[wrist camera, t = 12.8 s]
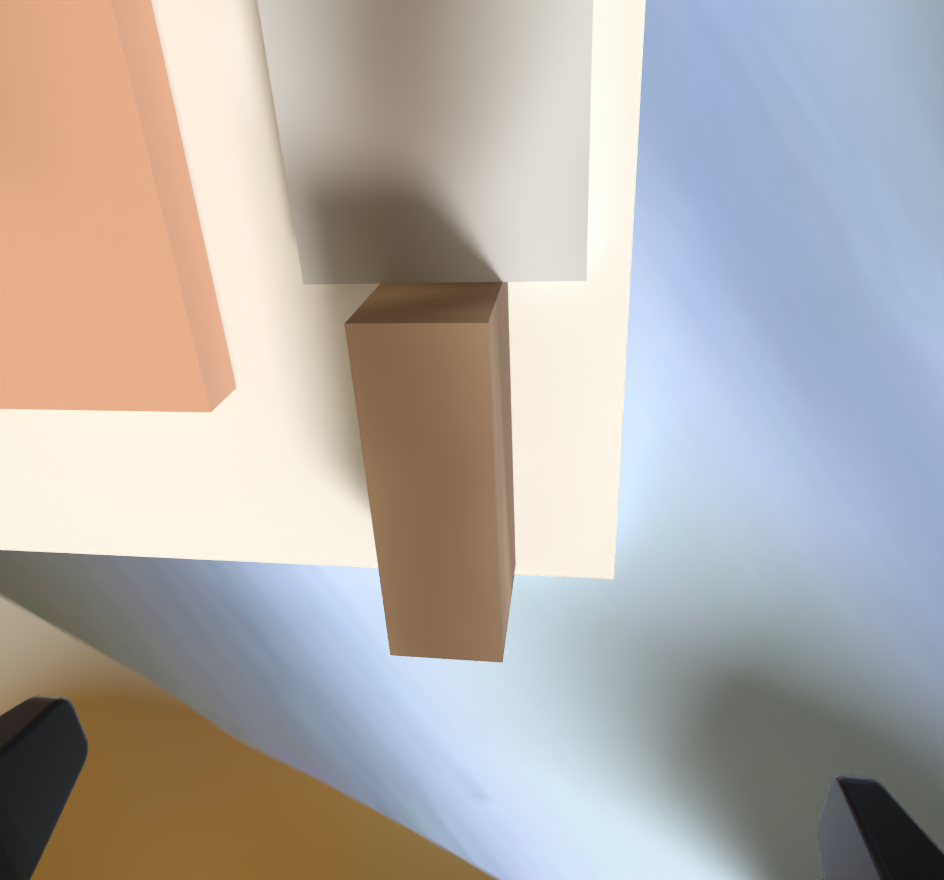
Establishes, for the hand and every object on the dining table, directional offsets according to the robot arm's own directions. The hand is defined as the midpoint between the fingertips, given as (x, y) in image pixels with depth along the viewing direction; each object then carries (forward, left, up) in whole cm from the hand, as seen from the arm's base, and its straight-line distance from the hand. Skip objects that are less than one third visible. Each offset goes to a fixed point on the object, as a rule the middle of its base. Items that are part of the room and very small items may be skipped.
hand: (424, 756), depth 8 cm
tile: (+10, -5, -9) cm, 14 cm away
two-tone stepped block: (+1, -3, -10) cm, 11 cm away
